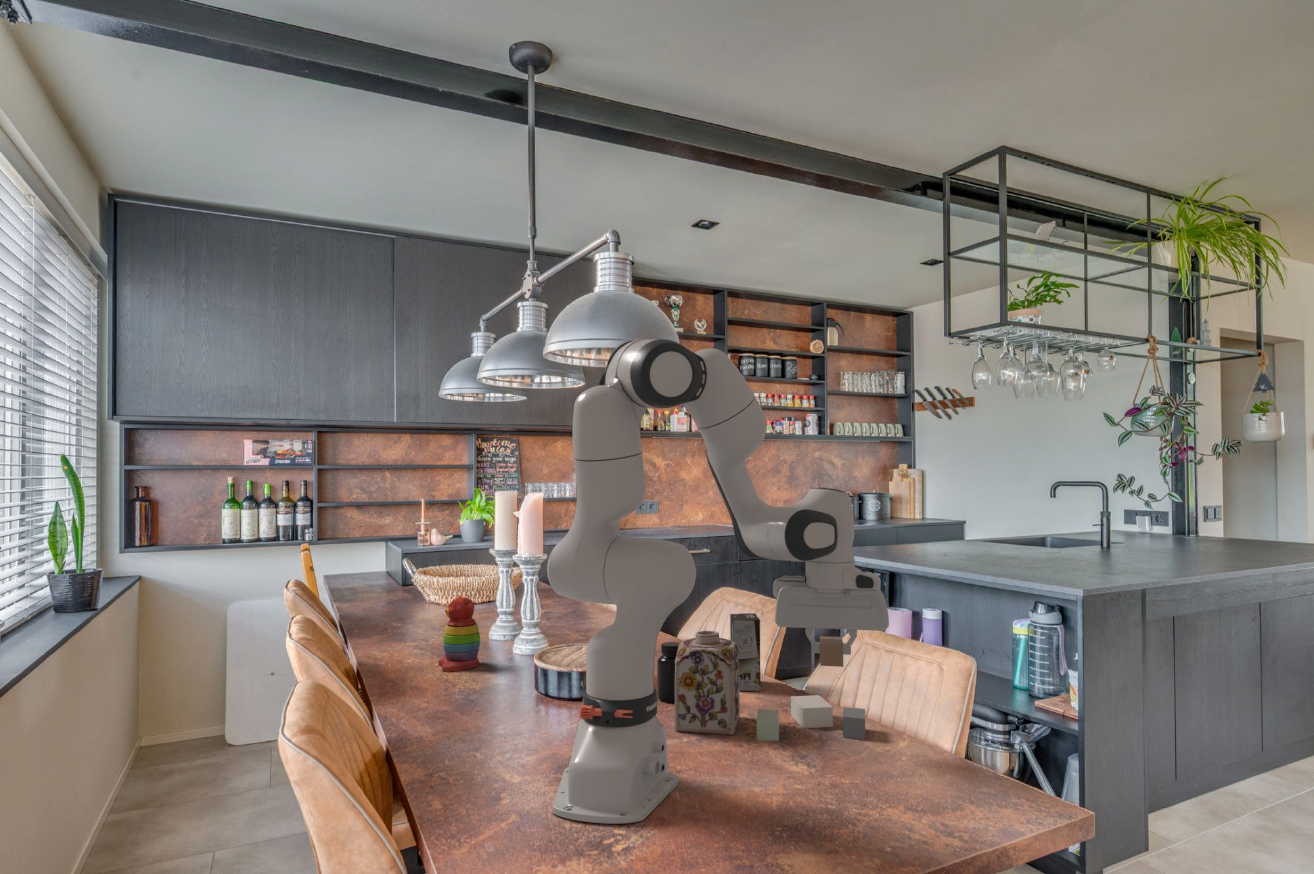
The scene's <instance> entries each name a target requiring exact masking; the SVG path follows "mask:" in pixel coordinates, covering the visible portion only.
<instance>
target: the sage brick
mask: <svg viewBox="0 0 1314 874" xmlns="http://www.w3.org/2000/svg"><path fill="white" fill-rule="evenodd" d="M779 713H780V710H779V709H771V708H770V709H767V708H757V713H756V741H767V742H768V741H769V742H771V741H773V742H779V741H780V740H779V739H780V719H779V717H780V714H779Z"/></svg>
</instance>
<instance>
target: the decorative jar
mask: <svg viewBox="0 0 1314 874" xmlns="http://www.w3.org/2000/svg"><path fill="white" fill-rule="evenodd" d="M679 643H680V644H679V647H678V651H677V653H676V659H675V703H674V730H675V731H676V732H683V733H684V732H686V733H699V734H716V735H728V736H729V735H730V736H732V735H734V734H735V732H736V729H737V724H738V722H739V718H740V708H741V707H740V704H741V703H740V700H741V699H740V691H739V661H738V660H739V656H738V655H739V654H738V652H739V651H738V648H737V645H736V643H735V642H732V641H730V639H727V638H723V637H720V632H719V631H717V630H716V631H715V630H701V631H697V632H695V637H693V638H688V639H684V640H683V639H682V641H680V642H679Z"/></svg>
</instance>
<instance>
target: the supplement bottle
mask: <svg viewBox="0 0 1314 874" xmlns="http://www.w3.org/2000/svg"><path fill="white" fill-rule="evenodd" d="M680 643H681V642H679V641H678V642H677V641H667V642H666V641H665V642H663V643H661V645H660V646H661V650H660V653H661V655H660V656H658V658H657V660H656V661H657V662H656V668H657V670H656V672H657V673H656V674H657V677H656V678H657V698H658V701H660V702H663V703H666V704H667V703H668V704H675V659H676V653H677V651H678V647H679V644H680Z"/></svg>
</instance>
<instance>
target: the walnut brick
mask: <svg viewBox="0 0 1314 874" xmlns="http://www.w3.org/2000/svg"><path fill="white" fill-rule="evenodd" d="M819 642H820V653H819V663H820V664H819V666H821V667H838V668H839V667H840V668H841V667H842V668H844V654H843V643H844V641H843V637H842V636H823V635H822V636H821V635H820V636H819Z"/></svg>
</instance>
